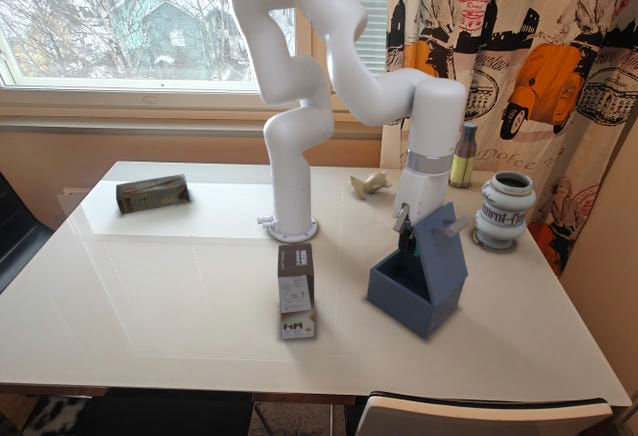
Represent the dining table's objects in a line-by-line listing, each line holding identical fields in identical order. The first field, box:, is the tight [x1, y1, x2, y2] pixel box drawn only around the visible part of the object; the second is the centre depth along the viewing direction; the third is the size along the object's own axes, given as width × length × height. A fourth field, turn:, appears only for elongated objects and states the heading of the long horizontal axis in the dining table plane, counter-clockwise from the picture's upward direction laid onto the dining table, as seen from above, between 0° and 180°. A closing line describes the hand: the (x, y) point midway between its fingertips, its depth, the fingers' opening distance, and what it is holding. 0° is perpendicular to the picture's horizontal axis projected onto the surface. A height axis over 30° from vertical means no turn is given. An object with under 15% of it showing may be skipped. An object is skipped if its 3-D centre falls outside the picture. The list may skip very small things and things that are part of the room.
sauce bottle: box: [449, 121, 479, 189], centre depth 118 cm, size 7×6×20 cm
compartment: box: [366, 247, 467, 341], centre depth 79 cm, size 15×12×9 cm
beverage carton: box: [115, 173, 191, 216], centre depth 112 cm, size 8×19×7 cm, turn 113°
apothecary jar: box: [472, 170, 537, 253], centre depth 94 cm, size 12×12×18 cm
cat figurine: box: [349, 170, 393, 200], centre depth 117 cm, size 8×7×12 cm
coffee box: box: [277, 242, 316, 340], centre depth 73 cm, size 9×6×16 cm
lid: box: [413, 201, 470, 307], centre depth 68 cm, size 15×12×5 cm
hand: (414, 244), depth 74 cm, fingers closed on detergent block, 4 cm apart
